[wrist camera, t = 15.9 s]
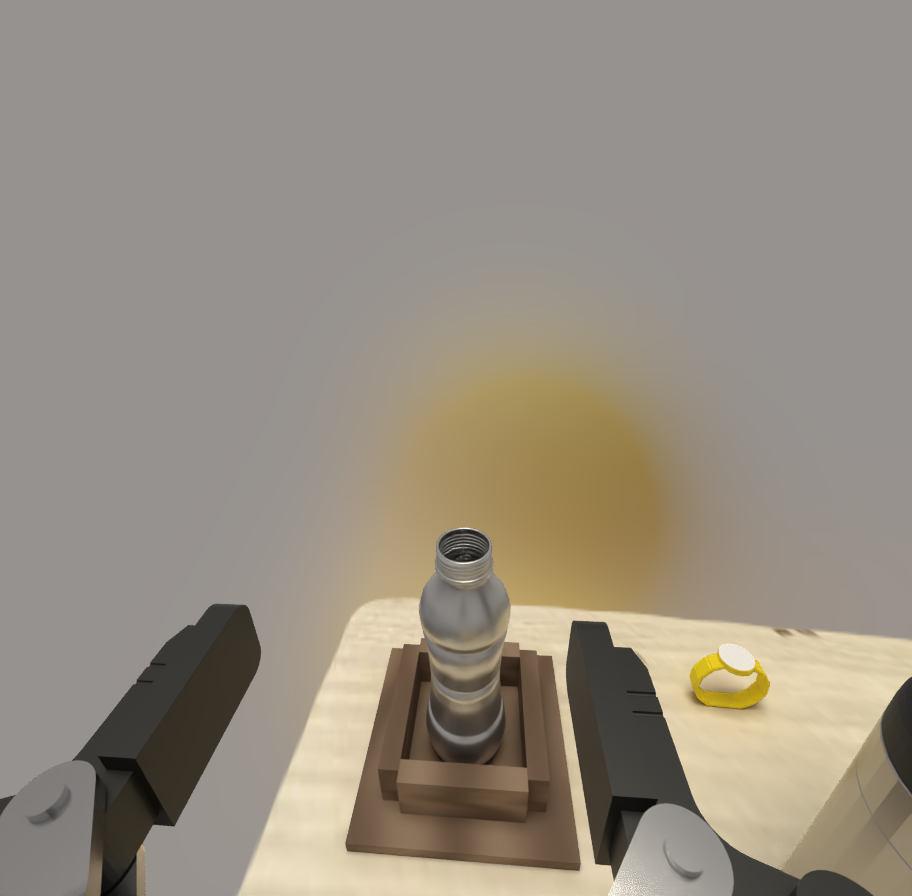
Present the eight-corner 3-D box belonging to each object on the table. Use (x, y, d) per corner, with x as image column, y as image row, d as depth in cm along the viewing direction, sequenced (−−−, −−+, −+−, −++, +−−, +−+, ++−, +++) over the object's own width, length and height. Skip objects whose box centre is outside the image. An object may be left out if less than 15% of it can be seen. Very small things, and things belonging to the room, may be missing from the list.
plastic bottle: (423, 780, 34) (406, 582, 25) (430, 696, 40) (419, 513, 31) (507, 782, 34) (520, 583, 25) (502, 698, 40) (510, 514, 31)
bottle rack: (550, 663, 44) (555, 627, 42) (579, 870, 30) (587, 832, 28) (393, 654, 45) (388, 619, 43) (347, 850, 31) (337, 812, 29)
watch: (693, 714, 40) (703, 669, 37) (682, 686, 42) (691, 641, 40) (766, 718, 39) (781, 672, 36) (751, 689, 41) (764, 644, 39)
